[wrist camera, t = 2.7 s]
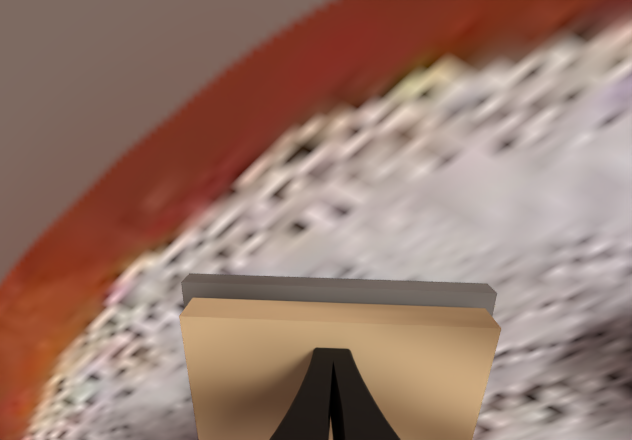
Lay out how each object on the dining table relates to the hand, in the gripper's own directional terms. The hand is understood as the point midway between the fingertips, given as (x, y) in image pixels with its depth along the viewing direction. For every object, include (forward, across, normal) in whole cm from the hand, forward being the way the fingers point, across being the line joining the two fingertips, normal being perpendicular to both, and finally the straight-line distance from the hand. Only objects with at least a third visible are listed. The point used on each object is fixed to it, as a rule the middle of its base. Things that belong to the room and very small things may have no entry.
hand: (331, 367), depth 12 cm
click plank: (+1, 0, +3) cm, 3 cm away
